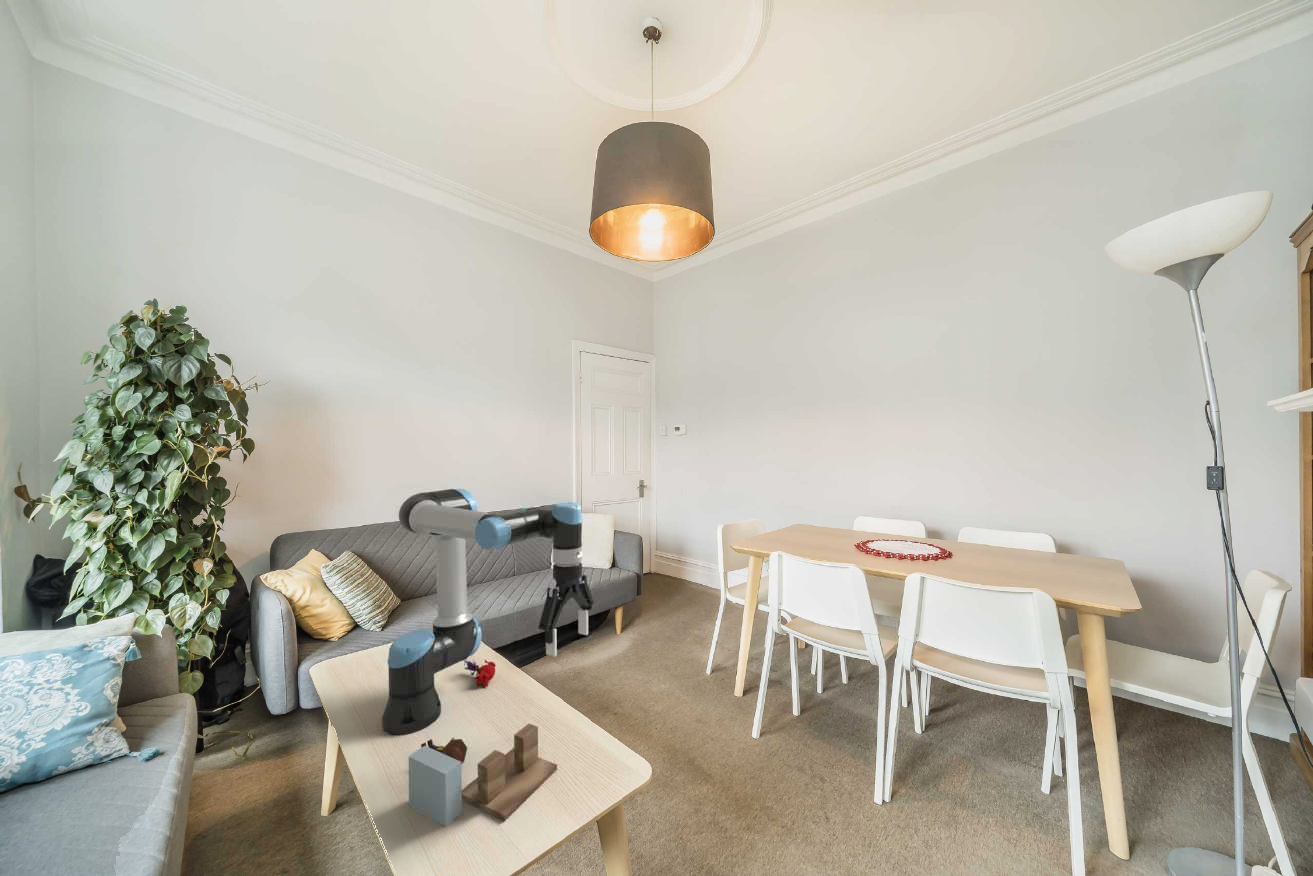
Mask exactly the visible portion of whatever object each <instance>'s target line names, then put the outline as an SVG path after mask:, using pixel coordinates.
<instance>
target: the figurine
mask: <svg viewBox="0 0 1313 876" xmlns="http://www.w3.org/2000/svg"><path fill="white" fill-rule="evenodd" d="M463 661H464V667H463V668H464V670H467V671H470V675H471V676H474V675H475V677H474V678H473V680H476V681H475V686H476V687H477V686H480V685H481V684H483V686H484V687H486V688H488V687H489V683H490V682H491V680H492V679H493V678H494V677H495V675H496V666H497V665H496V663H495V662H493V661H487V659H484V663H485V664H482V665H481V666H480V665H479V664H477V662H476V661H474V659H472V661H470V660H468V658H467V659H465V660H463ZM465 665H466V667H465ZM475 673H476V674H475Z"/></svg>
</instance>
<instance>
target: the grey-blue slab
mask: <svg viewBox="0 0 1313 876" xmlns="http://www.w3.org/2000/svg"><path fill="white" fill-rule="evenodd" d="M462 769H463V768H462V765H461V762H460V761H458V760H456V759H453V758H451V757H449V756H447V755H445V754H442V753H440V752H438V751H436V750H434V749H431V748H429V746H428V745H426V746H424V747H422V748H421V747H420V748H419V749H418V750H416V751H414V752H413V753H411V754H410V755H408V806H409V807H410V808H412V809H414V810H416V811H417V812H419V813H421V814H422V815H424V816H425V817H428V818H430V819H432V820H434V821H435V822H437V823H439V824H440V825H442V826H444V827H447V826H448V825H450V824H451V823H452V822H453V821H454V820H456V818H457V817H459V816H460V815H461V814H463V800H462V790H463V788H462V784H463V782H462V781H463V780H462V776H463V775H462Z"/></svg>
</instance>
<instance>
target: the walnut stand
mask: <svg viewBox="0 0 1313 876" xmlns="http://www.w3.org/2000/svg"><path fill="white" fill-rule="evenodd" d="M513 745H514V747H513V748H512V749H510V750H509V751H508V752H506V754H505V753H504V752H501V751H499V750H496V749H494V750H493V751H492V752H490V753H488V755H486V756H485V757H484V758H482V760H480V761H478V763H477V777H476V778H475V779H474V780H472V781H471V782H470V783H469V784H467V786H465V787H463V788H462V801H463V802H467V803H468V804H470V805H472V806H474V807H476V808H478V809H480V810H482V811H484V812H486V813H487V814H490V815H492V816H494V817H496V818H498V819H499V820H502V821H504V822H506V821H507V819H509V817H511V816H512V815H513V814H514V812H516V810H517V809H519V808H520V807H521V806H522V805H523V804H524V803H525V802H526V801H527V800H528V799H529V798H530V796H532V795H533V794H534V793H535V792H536V791H537V790H538V789H539V788H540V787H541V786H542V785H543V784H544V783H545V782H546V781H547V780H548V779H549V778H550V777H551V776H552V775H553V774H554V773H556V771H557V770H558V764H556V763H554V762H552V761H549V760H546V759H544V758H541V757H539V727H538V726H537V725H534V724H531V723H527V724H526V725H525V726H523V727H522V728H521V729H520V730H518V731H517V732H516V733H514V734H513Z"/></svg>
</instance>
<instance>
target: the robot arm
mask: <svg viewBox="0 0 1313 876" xmlns="http://www.w3.org/2000/svg"><path fill="white" fill-rule="evenodd" d="M398 520H399V524H400V525H401V526H402V527H403V528H404V529H405V530H406V531H408V532H410V533H413V534H418V535H427V534H429V535H430V536H431V537H432V538H433V539H434V540H435V561H436V563H435V565H436V566H435V567H436V571H435V572H436V593H437V594H436V598H437V599H436V600H437V601H436V603H437V616H436V617H435V618H434V620H432V630H430V629H417V630H416V631H413V630H412V631H409V632H406V633H405V634H403V635H401V636H399V637H397V638H396V639H395V640H394V641H393V642H392V643H391V645H390V646H389V649H388V655H387V657H388V658H387V665H388V699H387V701H386V705H385V708H384V711H383V714H382V717H381V728H382V730H383V731H384V732H385V733H387V734H390V735H405V734H406V735H407V734H411V733H414V732H417V731H421V730H422V729H425V728H427V727H429V726H430V725H432V724H433V723H435V722H436V721H437V720H438V718H439V717H440V716H441V714H442V704H441V703H442V702H441V700H440V699H441V698H440V697H439V695H438V692H437V690H436V687H435V674H438V673H439V672H441V671H443V670H445V669H448V668H450V667H452V666H453V665H456V664H458V663H460V662H463V661H464V660H466V659H467V660H468V658H470V657H472V656H473V655H474V654H476V652H477V651H478V649H480V646H481V644H482V636H483V635H482V628H481V626H479V625H480V623H479V621H478V620H477V619H476V618H475V617H474V616H473V614H472V613H471V612H470V611H468V590H467V589H468V587H467V586H468V584H467V580H468V579H467V558H466V557H467V555H466V541H473V542H477V544H478V546H480V547H481V548H482V550H483V549H484V550H493V549H497V550H498V549H501V548H503V547H506V546H509V545H513V544H517V543H521V542H525V541H528V540H534V539H536V538H537V539H538V538H546V539H552V563H553V565H552V578H553V579H554V581H555V587H548V588H547V590H546V598H545V603H544V606H543V609H542V613H541V617H540V620H539V622H538V624H539V625H538V630H541V631H544V642H545V655H547V656H550V657H554V658H555V657H556V656H557V655H558V649H557V645H558V644H557V643H558V642H557V632H558V631H557V628H555V627H556V625H557V622H558V620H559V618H560V615H561V613H562V610H563V607H564V606H565V605H566V604H567V602H569V600H571V599H573V600H574V601H575V602H576V604H577V605H578V607H579V609H578V610H577V611H578V613H577V615H578V618H577V620H578V623H577V624H578V626H577V627H578V629H577V630H578V631H577V632H578V634H580V635H584V636H588V635H589V611H591V610H593V605H594V599H593V597H592V593H591V590H590V588H589V584H588V579H587V578H588V577H587V575H586V574H583V563H582V560H583V554H582V553H583V548H582V547H583V541H582V539H583V536H582V533H583V516H582V506H581V505H580V504H579V503H577V502H558V503H555V504H553V506H552V509H548V508H538V507H535V506H533V507H524V508H522V510H520V511H519V512H515V513H514V512H513V513H509V514H496V513H490V512H483V511H479V509H478V503H477V501H476V499H475V497H474V496H473V494H472V493H471V492H469V491H468V490H466V489H465V488H463V489H462V488H449V489H443V490H435V491H428V492H427V491H426V492H425V491H424V492H418V493H415V494H413V495H411V496H409V497H407V498H406V500H404V502H403V503H402V504H401V505H400V507H399V510H398Z"/></svg>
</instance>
